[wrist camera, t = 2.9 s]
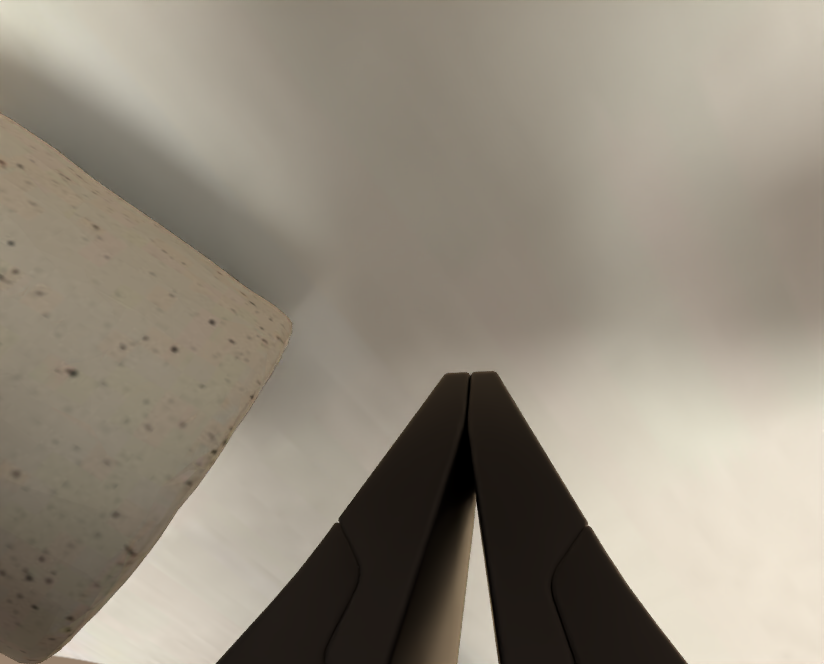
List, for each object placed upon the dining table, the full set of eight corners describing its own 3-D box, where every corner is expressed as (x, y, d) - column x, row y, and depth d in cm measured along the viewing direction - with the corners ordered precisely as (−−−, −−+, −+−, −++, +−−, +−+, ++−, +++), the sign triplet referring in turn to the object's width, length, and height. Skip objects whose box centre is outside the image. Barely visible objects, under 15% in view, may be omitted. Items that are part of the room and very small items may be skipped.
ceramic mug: (-25, -7, 10) (-955, 86, 3) (336, 265, 12) (168, 600, 6) (-93, 325, 15) (-491, 583, 9) (163, 463, 18) (-15, 740, 12)
